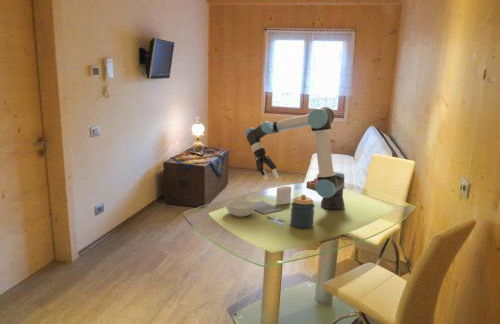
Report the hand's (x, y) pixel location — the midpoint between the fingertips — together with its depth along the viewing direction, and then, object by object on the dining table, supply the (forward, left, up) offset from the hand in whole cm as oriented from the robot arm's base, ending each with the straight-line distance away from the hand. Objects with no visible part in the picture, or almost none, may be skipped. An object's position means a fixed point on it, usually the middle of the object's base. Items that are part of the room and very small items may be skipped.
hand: (272, 179), depth 249 cm
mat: (-4, +10, -16) cm, 20 cm away
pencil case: (+11, -63, -17) cm, 66 cm away
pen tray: (+11, -63, -16) cm, 66 cm away
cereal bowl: (-7, +30, -17) cm, 35 cm away
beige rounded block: (-4, -7, -17) cm, 19 cm away
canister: (-38, +9, -17) cm, 43 cm away
